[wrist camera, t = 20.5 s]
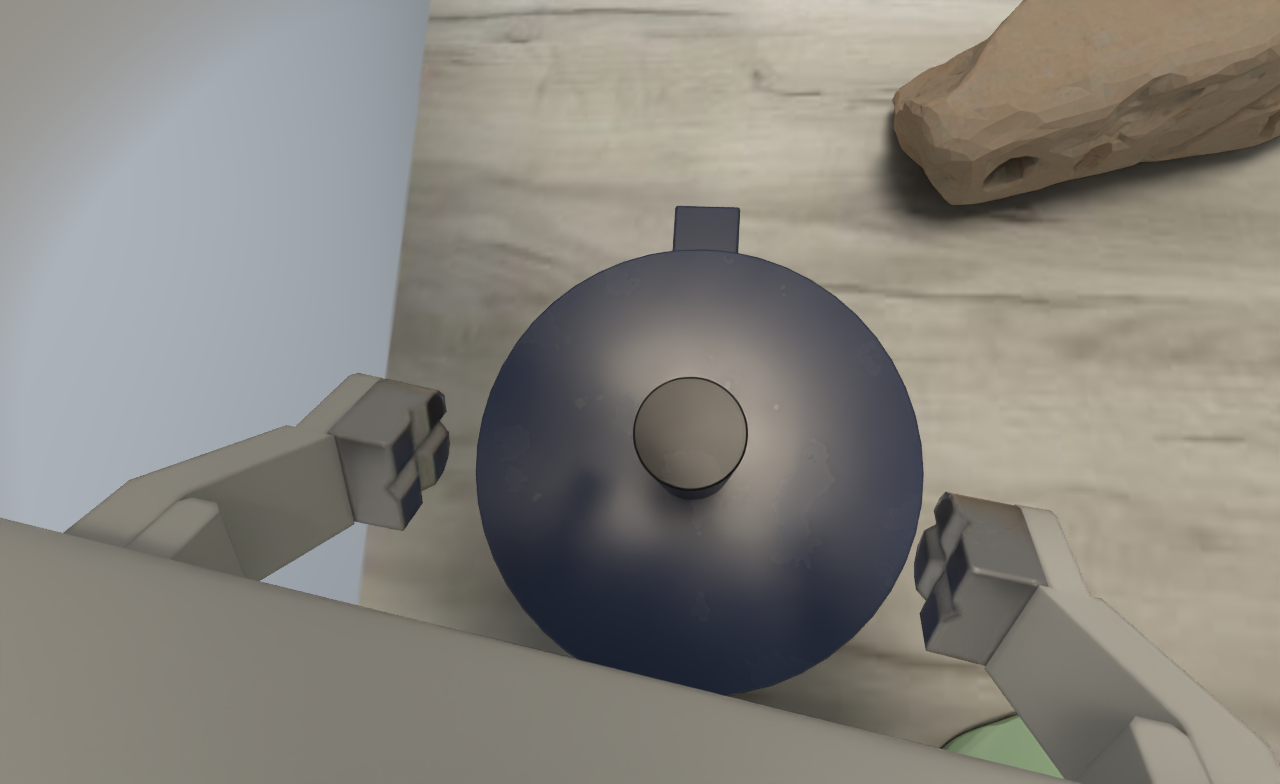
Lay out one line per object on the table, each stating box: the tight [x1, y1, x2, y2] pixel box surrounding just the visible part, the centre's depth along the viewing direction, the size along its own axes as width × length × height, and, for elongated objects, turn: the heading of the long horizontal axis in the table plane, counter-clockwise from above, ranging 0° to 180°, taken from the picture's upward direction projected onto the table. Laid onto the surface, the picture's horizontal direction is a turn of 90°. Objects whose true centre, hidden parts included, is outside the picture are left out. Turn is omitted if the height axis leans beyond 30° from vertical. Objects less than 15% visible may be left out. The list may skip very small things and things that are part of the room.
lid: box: [476, 249, 924, 695], centre depth 19 cm, size 15×15×8 cm
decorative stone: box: [892, 0, 1280, 205], centre depth 30 cm, size 20×8×10 cm, turn 101°
